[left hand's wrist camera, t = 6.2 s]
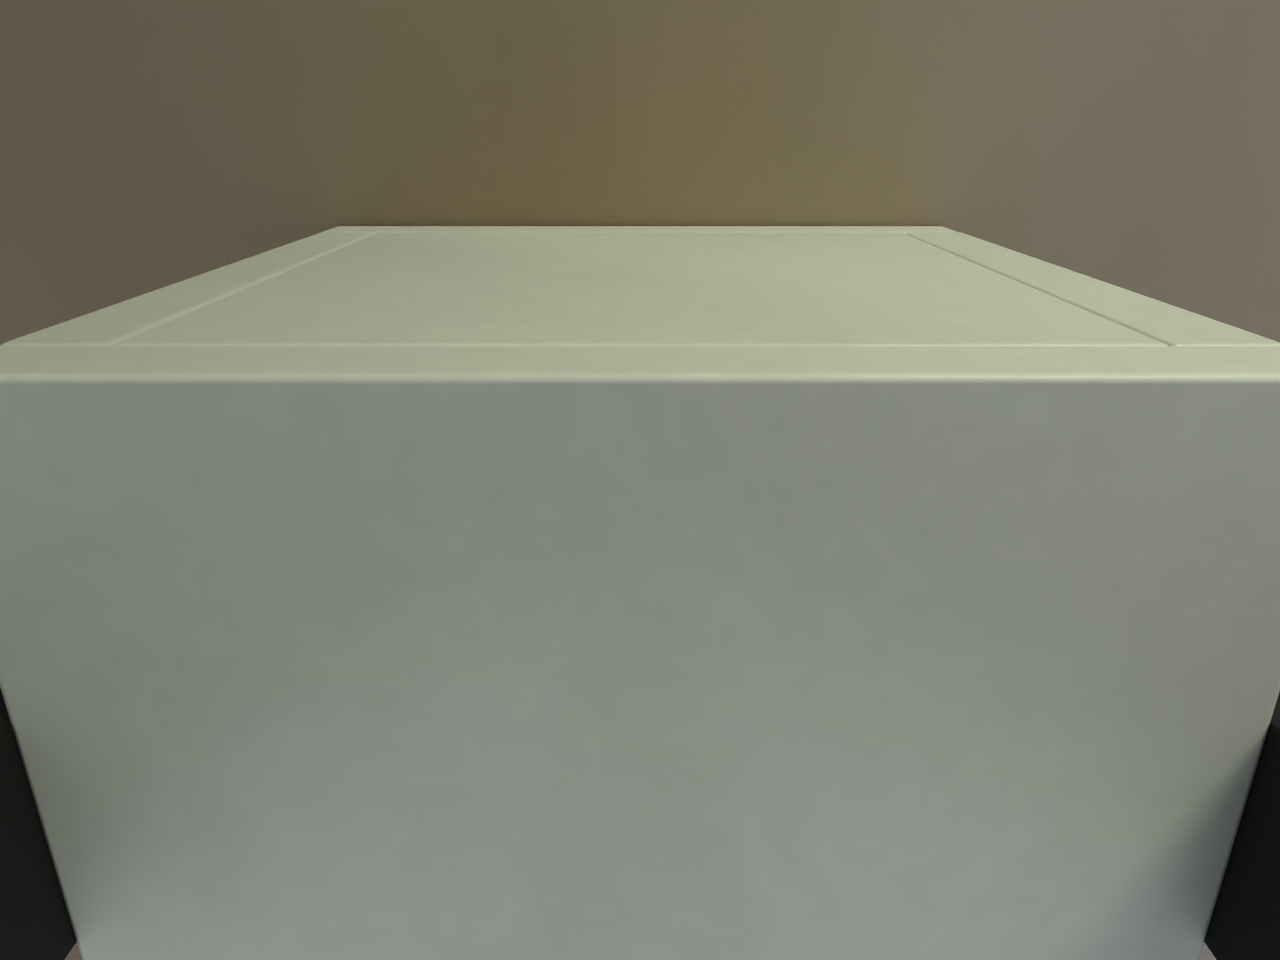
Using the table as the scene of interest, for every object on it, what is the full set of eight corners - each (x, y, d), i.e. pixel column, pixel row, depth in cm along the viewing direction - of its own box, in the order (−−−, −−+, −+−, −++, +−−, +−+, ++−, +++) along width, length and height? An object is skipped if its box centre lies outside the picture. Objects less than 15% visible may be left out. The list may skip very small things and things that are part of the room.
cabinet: (859, 948, 24) (1021, 1556, 14) (420, 948, 24) (259, 1556, 14) (944, 225, 17) (1380, 374, 7) (335, 225, 17) (-99, 374, 7)
